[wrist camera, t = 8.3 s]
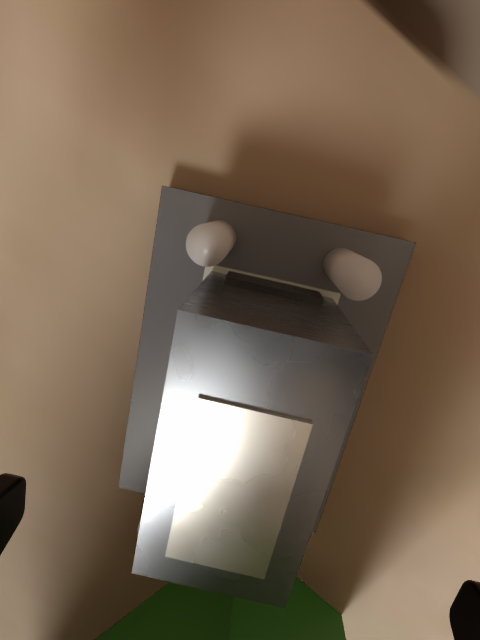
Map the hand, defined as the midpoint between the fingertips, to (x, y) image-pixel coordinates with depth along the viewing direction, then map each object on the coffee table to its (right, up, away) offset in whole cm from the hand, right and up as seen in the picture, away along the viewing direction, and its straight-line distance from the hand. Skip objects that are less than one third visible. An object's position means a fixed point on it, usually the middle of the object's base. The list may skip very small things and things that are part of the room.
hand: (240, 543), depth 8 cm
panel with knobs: (0, +2, +8) cm, 9 cm away
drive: (0, +2, +7) cm, 8 cm away
